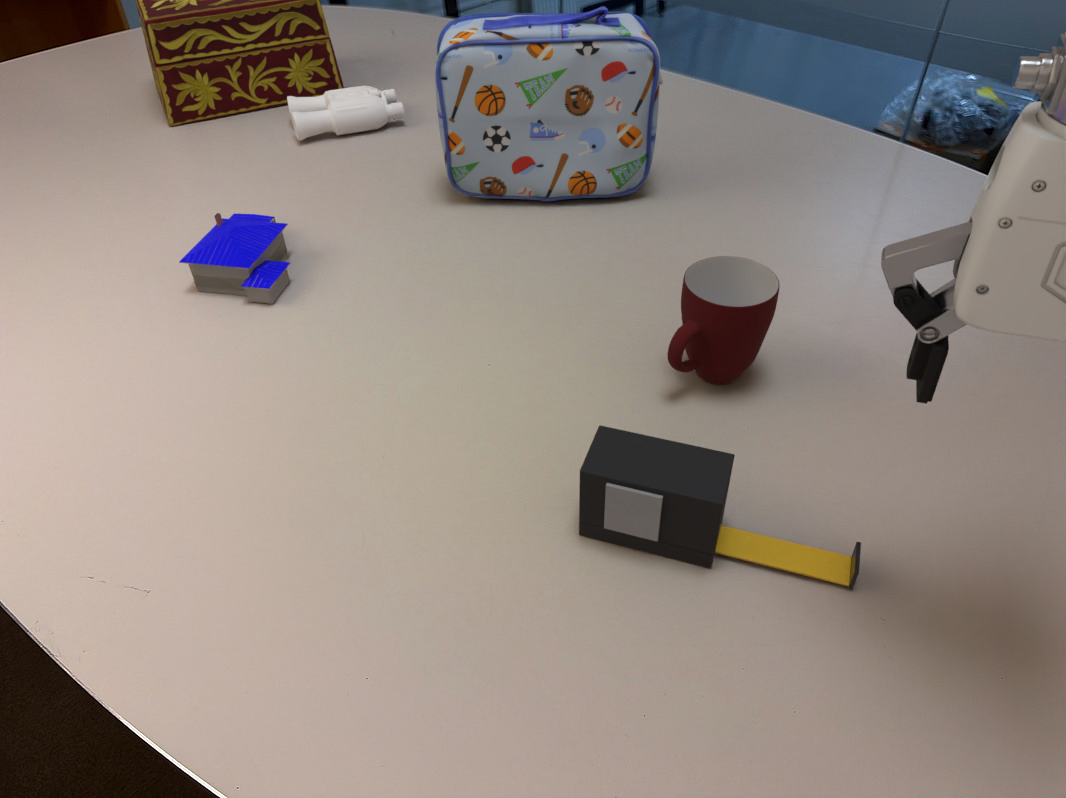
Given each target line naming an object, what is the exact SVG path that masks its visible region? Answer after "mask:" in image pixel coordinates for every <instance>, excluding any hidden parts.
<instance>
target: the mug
mask: <svg viewBox="0 0 1066 798" xmlns="http://www.w3.org/2000/svg"><path fill="white" fill-rule="evenodd" d="M780 285H781V284H780V280H779V278H778V277H777V275H776V274H775V272H774V271H773V270H771V269H770V268H769V267H768V266H766V265H764V264H763V263H760V262H758V261H755V260H752V259H750V258H747V257H746V258H745V257H740V256H733V255H732V256H731V255H719V256H711V257H707V258H704V259H701V260H698V261H696V262H694V263H692V264H691V265H690V266H689V267H688V268H687V269H686V270H685V271H684V274H683V279H682V286H681V295H680V314H681V322H682V323H681V324H682V325H681V326H679V327H678V328H677V329H676V331H675V332H674V334H673V335H672V337H671V339H670V341H669V345H668V348H667V361H668V364H669V365H670V367H671V368H673V369H674V370H675V371H677V372H680V373H685V374H686V373H690V372H693V371H694V372H695V374H696V375H697V376H698V378H700V379H701V380H702V381H703V382H705V383H709V384H712V385H717V386H719V385H722V386H723V385H729V384H732V383H734V382H735V381H736V380H738V379H739V378H740V377H741V376H742V375H743V374H744V373H745V372H746V371H747V370H748V369H749V368H750V367H751V366H752V364H753V363H754V361H755V360H756V358H757V357H758V355H759V352H760V350H761V348H762V346H763V344H764V341H765V339H766V337H767V333H768V332H769V329H770V326H771V324H772V322H773V320H774V317H775V312H776V310H777V306H778V300H779V294H780V287H781V286H780ZM684 352H685V353H686V356H687V359H686V360H683V355H684Z"/></svg>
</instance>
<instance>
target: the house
mask: <svg viewBox="0 0 1066 798" xmlns="http://www.w3.org/2000/svg"><path fill="white" fill-rule="evenodd" d="M213 217H214V219H215V223H216V224H215V225H214V226H213V227H212V228H211V229H210V230H209V231H208V232H207V233H206V234H205V235H204V236H203V237H202V238H201V239H200V240H199V241H198V242H197V243H196V244H195V245H194V246H193V247H192V248H191V249H190V250H189V251H188V252H187V253H186V254H185V255H184V256H183V257H182V258H181V259H180V260H179V261H178V264H185V265H187V264H188V267H189V269H190V273H191V275H192V278H193V281H194V283H195V287H196V289H197V292H203V293H213V294H214V293H215V294H225V295H235V296H247V299H248V302H250V303H259V304H268V305H269V304H271V305H273V304H274V303H275V302H276V300H277V299H278V298H279V296H280V295H281V294H282V293H283V291H284V290H285V289H286V287H287V286H288V285H289V284H290V282H291V281H290V277H289V272H288V267H289V266H290V265H291V262H290V261H287V260H288V258H289V252H288V249H287V244H286V241H285V237H284V233H283V231H284V230H285V229H286V228H287V227H288V225H289V223H284V222H277V221H276V218H275V216H273V215H272V216H271V215H264V214H257V213H232V215H231V216H229V218H222V215H221V213H220V212H219V213H218V212H216V213H215V215H214V216H213Z"/></svg>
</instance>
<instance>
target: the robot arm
mask: <svg viewBox="0 0 1066 798" xmlns="http://www.w3.org/2000/svg"><path fill="white" fill-rule="evenodd" d="M1010 86H1011V87H1010V88H1011V89H1017V90H1018V89H1019V90H1028V92H1029V93H1030V94H1037V96H1038V100H1039V101H1032V102H1030V103H1028V104H1027V105H1026V106H1024V108H1023V109H1022V110H1021V112H1020V114H1019V116H1018V117H1017V119H1016V120H1015V122H1014V124H1013V125H1012V127H1011V129H1010V131H1009V133H1008V134H1007V136H1006V137H1005V140H1004V141H1003V143H1002V145H1001V147H1000V149H999V151H998V153H997V155H996V157H995V159H994V161H993V164H992V165H991V166H990V170H989V172H988V174H987V176H986V179H985V181H984V183H983V185H982V188H981V190H980V192H979V194H978V195H977V199H976V201H975V203H974V206H973V208H972V210H971V212H970V215H969V218H968V219H967V222H963V223H960V224H956V225H953V226H949V227H946V228H943V229H939V230H935V231H932V232H929V233H925V234H922V235H919V236H918V235H917V236H914V237H911V238H908V239H904V240H900V241H898V242H893V243H891V244H888V245H886V246H884V248H882V251H881V258H880V267H881V270H882V273H883V276H884V277H885V281H886V284H887V286H888V289H889V291H890V294H891V296H892V302H893V305H894V307H895V308H896V309H897V311H899V313H900V314H901V315H902V316H903V318H905V320H906V321H907V322H908V323H909V324H910V325H911V326H912V328H913V329H914V330H915V331H916V334H915V337H914V341H913V343H912V347H911V350H910V353H909V356H908V361H907V364H906V377H905V378H906V379H907V380H912V381H916V383H915V388H916V391H915V395H916V396H915V399H916V403H918V404H919V403H920V404H928V403H929V402H930V403H932V401H933V399H934V395H935V394H936V393H935V392H936V390H937V387H938V384H939V381H940V377H941V375H942V372H943V369H944V366H945V363H946V360H947V357H948V354H949V348H950V344H949V343H950V341H949V335H951V334H952V333H954V332H956V331H958V330H960V329H961V328H963V327H965V326H969V327H972V328H974V329H977V330H980V331H984V332H990V333H993V334H994V333H995V334H1003V335H1007V336H1015V337H1021V338H1022V337H1023V338H1029V339H1037V340H1043V341H1051V342H1052V341H1053V342H1059V343H1066V32H1065V33H1060V34H1059V37H1058V40H1057V42H1056V46H1055V45H1054V46H1051V48H1050V50H1049V52H1048V53H1047V52H1040V53H1039V54H1038V55H1037V56H1032V55H1031V56H1030V55H1019V57H1018V58H1017V61H1016V62H1015V66H1014V69H1013V73H1012V77H1011V83H1010ZM951 261H953V268H952V275H953V277H954V278H953V279H951V280H950V281H949V282H947V283H944V285H942V286H940V287H938V288H937V289H935V290H934V291H932V292H931V293H929V292H928V290H927V289H926V288H925V287H924V285H922V283H921V282H920V281H919V280H918V279H917V277H916V275H915V273H916V272H917V271H919V270H922V269H925V268H929V267H932V266H937V265H940V264H943V263H948V262H951Z"/></svg>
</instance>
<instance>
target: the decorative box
mask: <svg viewBox="0 0 1066 798" xmlns="http://www.w3.org/2000/svg"><path fill="white" fill-rule="evenodd" d="M134 1H135V5H136V9H137V13H138V18H139V21H140V26H141V30H142V31H141V32H142V35H143V38H144V43H145V48H146V52H147V55H148V59H149V63H150V64H149V65H150V68H151V73H152V77H153V80H154V84H155V89H156V92H157V94H158V97H159V100H160V103H161V107H162V110H163V112H164V116H165V118H166V121H167V124H168V125H169V127H174V126H180V125H185V124H191V123H197V122H201V121H207V120H212V119H213V120H214V119H217V118H218V119H219V118H222V117H227V116H233V115H238V114H243V113H249V112H255V111H259V110H265V109H270V108H276V107H280V106H285V105H288V101H287V96H294V97H316V96H321V95H323V94H324V93H325V91H329V90H336V89H343V88H345V86H344V82H343V79H342V75H341V71H340V67H339V63H338V60H337V57H336V53H335V50H334V45H333V43H332V39H331V37H330V32H329V28H328V23H327V21H326V17H325V13H324V10H323V7H322V2H321V0H134Z"/></svg>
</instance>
